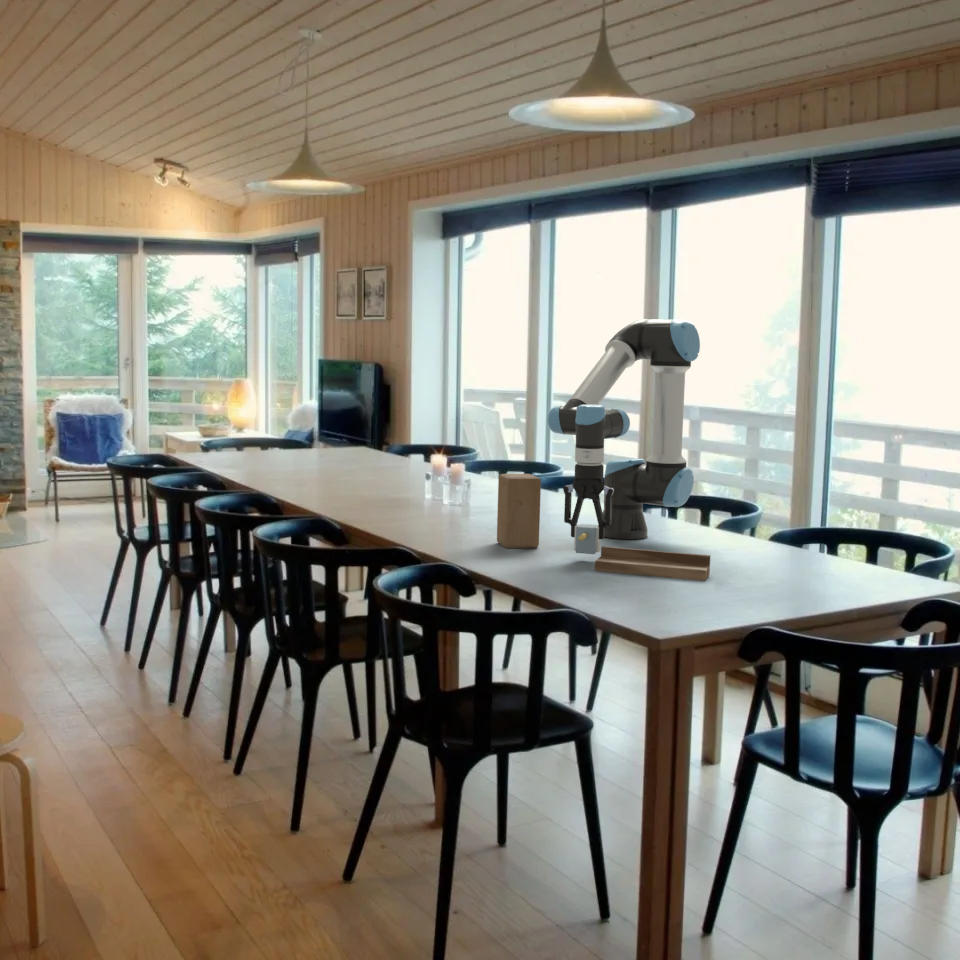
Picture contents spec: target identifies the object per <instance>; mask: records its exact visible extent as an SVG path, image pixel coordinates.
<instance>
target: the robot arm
mask: <svg viewBox="0 0 960 960" xmlns="http://www.w3.org/2000/svg"><path fill="white" fill-rule="evenodd" d="M700 348H701V342H700V335H699V332H698V330H697V328H696V326H695V325H694V324H693V322H691V321H690V320H686V319H679V318H674V319H671V318H670V319H668V318H667V319H666V318H664V319H663V318H662V319H657V318H655V319H653V318H652V319H650V318H643V319H638V320H635V321H633V322H631V323H630V324H628V325H626V326H624V327H623V328H622V329H620V330H618V331H617V333H615V334H614V336H613V337H612V338H611V339H610V340H609V341H607V344H606V345H605V348H604V353H603V355H602V356H601V357H600V358H599V360H598V361H597V362H596V364H595V365H594V367H592V369H591V370H590V372H589V373H588V375H586V377H585V378H584V380H583V381H582V382H581V384H579V386H578V387H577V389H576V390H575V392H574V393H573V394H572V395H571V397H570V398H569V400H567V402H566V403H565V405H564V406H562V405H559V406H554V407H552V408H551V409H550V411H549V412H548V416H547V424H548V428H549V430H550V431H551V432H552V433H555V434H561V435H564V436H565V435H568V436H569V435H570V436H575V445H574V448H575V449H574V450H575V451H574V454H575V455H574V462H575V463H576V464H575V465H574V479H573V480H574V481H573V482H572V483H571V484H566V485H564V486H563V487H562V491H563V494H564V515H563V516H564V517H563V522H564V523H565V524H569V525H570V537H571V538H574V541H573V542H574V543H573V544H574V546H573V547H574V549H573V550H574V551H576V527H577V526H578V525H579V524H578V523H579V522H578V521H579V517H580V514H581V511H582V508H583V504H584V501H585V500H586V499H589V500H592V504H593V508H594V512H595V516H596V521H597V525H599V526H598V527H596V546H595V552H596V553H599V552H601V540H604V539H605V538H608V539H615V540H640V539H645V538H647V537H648V534H649V533H648V532H649V531H648V525H647V522H646V518H645V514H644V512H643V510H644V509H643V507H644V504H646V505H647V504H648V505H654V506H655V505H656V506H663V507H665V508H669V507H670V508H671V507H673V508H679V507H682V506H683V505H685V503H687V501H688V499H689V498H690V496H691V494H692V491H693V487H694V483H695V482H694V480H695V478H694V475H693V474H694V473H693V471H692V470H691V469H690V468H689V467H687V459H686V458H685V457H683V454H682V451H683V434H684V433H683V428H684V408H685V406H684V405H685V386H686V385H685V384H686V379H685V378H686V373H687V372H688V370H689V369H690V368H691V367H692V362H694V361H695V360H696V359H697V358H698V357H699V353H700V350H701V349H700ZM640 360H650V362H649V363H650V365H649V366H650V368H651V369H652V370H653V371H654V394H653V396H654V397H653V412H652V413H653V415H652V416H653V418H652V439H651V440H652V442H651V443H652V444H651V445H652V446H651V454H650V455H649V456H648V457H647V458H646V461H645V459H644V458H627V459H625V458H624V459H615V460H609V461H608V462H607V463H606V465H605V467H604V465H603V464H602V463H604V461H605V460H604V459H605V458H604V457H605V440H606V439H612V438H613V439H617V438H619V437H622V436H624V435H625V434H627V433H628V431H629V429H630V428H631V427H630V426H631V421H630V417H629V415H628V413H626V411H624V410H623V409H619V408H617V409H615V408H612V409H605V406H604V405H602V404H600V403H601V402H602V401H603V400H604V398H605V397H606V396H607V394H608V393H609V392H610V390H611V389H612V388H613V386H614V385H615V384H616V382H617V381H618V380H619V378H620V377H621V376H622V374H623V373H624V371H625V370H626V369H627V368H630V367H632V366H633V365H634V364H635V363H636V361H640ZM604 468H605V472H604ZM574 491H575V492H576V494H577V497H576V503H575V507H574V511H573V513H572V497H573V496H572V493H573V492H574ZM603 491H604V492H603ZM602 492H603V493H604V495H603V509H602V504H601V498H600V495H601V494H602ZM572 514H573V515H572Z"/></svg>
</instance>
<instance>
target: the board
mask: <svg viewBox="0 0 960 960" xmlns="http://www.w3.org/2000/svg"><path fill="white" fill-rule="evenodd" d="M594 571H595V572H604V573H617V574H628V575H637V576H651V577H661V578H671V579H672V578H673V579H683V580H694V581H703V582H704V581H706V580H707V579H708V578H709V576H710V571H711V554H698V553H689V552H676V551H667V550H666V551H664V550H651V549H642V548H641V549H640V548H628V547H617V546H606V545H605V546H604V545H602V546H600V557H598V558H597V559H596V560H595V561H594Z"/></svg>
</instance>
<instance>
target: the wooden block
mask: <svg viewBox="0 0 960 960" xmlns="http://www.w3.org/2000/svg"><path fill="white" fill-rule="evenodd" d="M498 475H499V476H498V481H497V482H498V483H497V485H498V486H497V488H498V489H497V491H498V492H497V517H496V518H497V520H496V521H497V523H496V542H497V543H498V544H500V545H501V546H502V547H504V548H505V549H534V548H538V547H539V545H540V520H541V518H540V517H541V515H540V514H541V495H542V494H541V492H542V491H541V490H542V488H541V487H542V480H541V478H540V477H538V476H535V475H533V474H530V473H501V474H498Z"/></svg>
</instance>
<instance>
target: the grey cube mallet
mask: <svg viewBox="0 0 960 960" xmlns="http://www.w3.org/2000/svg"><path fill="white" fill-rule="evenodd" d="M577 525H578V526H577V527H576V550H575V553H576V554H585V555H595V554H596V553H597V552H595V546H596V527H598V526H599V525H598V524H591V523H580V524H577Z"/></svg>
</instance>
